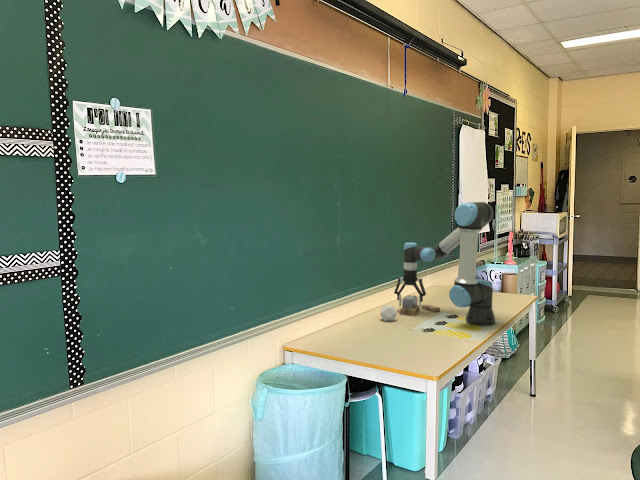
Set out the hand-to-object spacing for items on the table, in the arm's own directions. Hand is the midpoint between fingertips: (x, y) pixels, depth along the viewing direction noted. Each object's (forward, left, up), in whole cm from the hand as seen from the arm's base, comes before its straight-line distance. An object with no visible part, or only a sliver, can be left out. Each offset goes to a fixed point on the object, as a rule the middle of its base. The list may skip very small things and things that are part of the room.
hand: (409, 306), depth 293 cm
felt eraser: (-10, -11, -4) cm, 16 cm away
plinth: (0, 0, -4) cm, 4 cm away
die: (+7, +21, -4) cm, 23 cm away
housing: (0, 0, 0) cm, 0 cm away
